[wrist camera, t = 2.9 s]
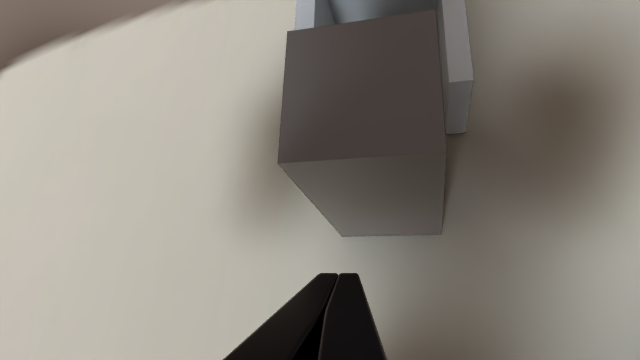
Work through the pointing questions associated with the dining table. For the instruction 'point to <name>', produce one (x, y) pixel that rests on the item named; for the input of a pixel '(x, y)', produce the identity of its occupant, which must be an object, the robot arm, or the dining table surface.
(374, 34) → the plug
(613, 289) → the dining table surface
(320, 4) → the socket
